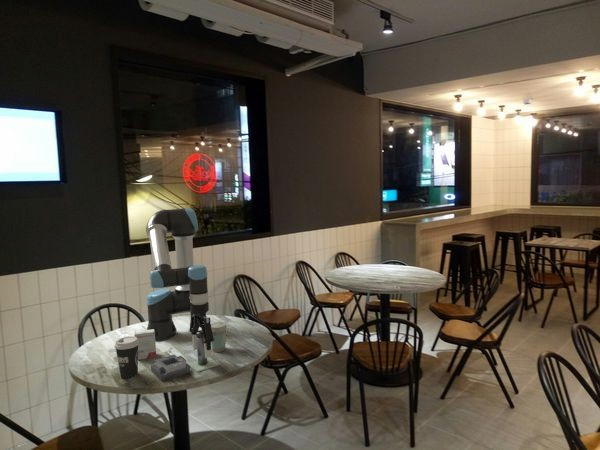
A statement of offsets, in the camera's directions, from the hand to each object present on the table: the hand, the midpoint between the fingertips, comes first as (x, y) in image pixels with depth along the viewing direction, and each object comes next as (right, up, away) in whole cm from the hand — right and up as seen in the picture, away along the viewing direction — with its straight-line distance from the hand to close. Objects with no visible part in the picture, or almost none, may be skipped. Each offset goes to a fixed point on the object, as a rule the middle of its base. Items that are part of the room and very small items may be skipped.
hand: (202, 352), depth 182 cm
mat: (0, -5, +1) cm, 5 cm away
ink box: (-28, -5, +11) cm, 31 cm away
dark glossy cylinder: (0, -5, 0) cm, 5 cm away
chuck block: (-12, -6, -5) cm, 14 cm away
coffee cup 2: (+4, -4, +16) cm, 17 cm away
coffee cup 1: (-28, -7, -7) cm, 30 cm away
